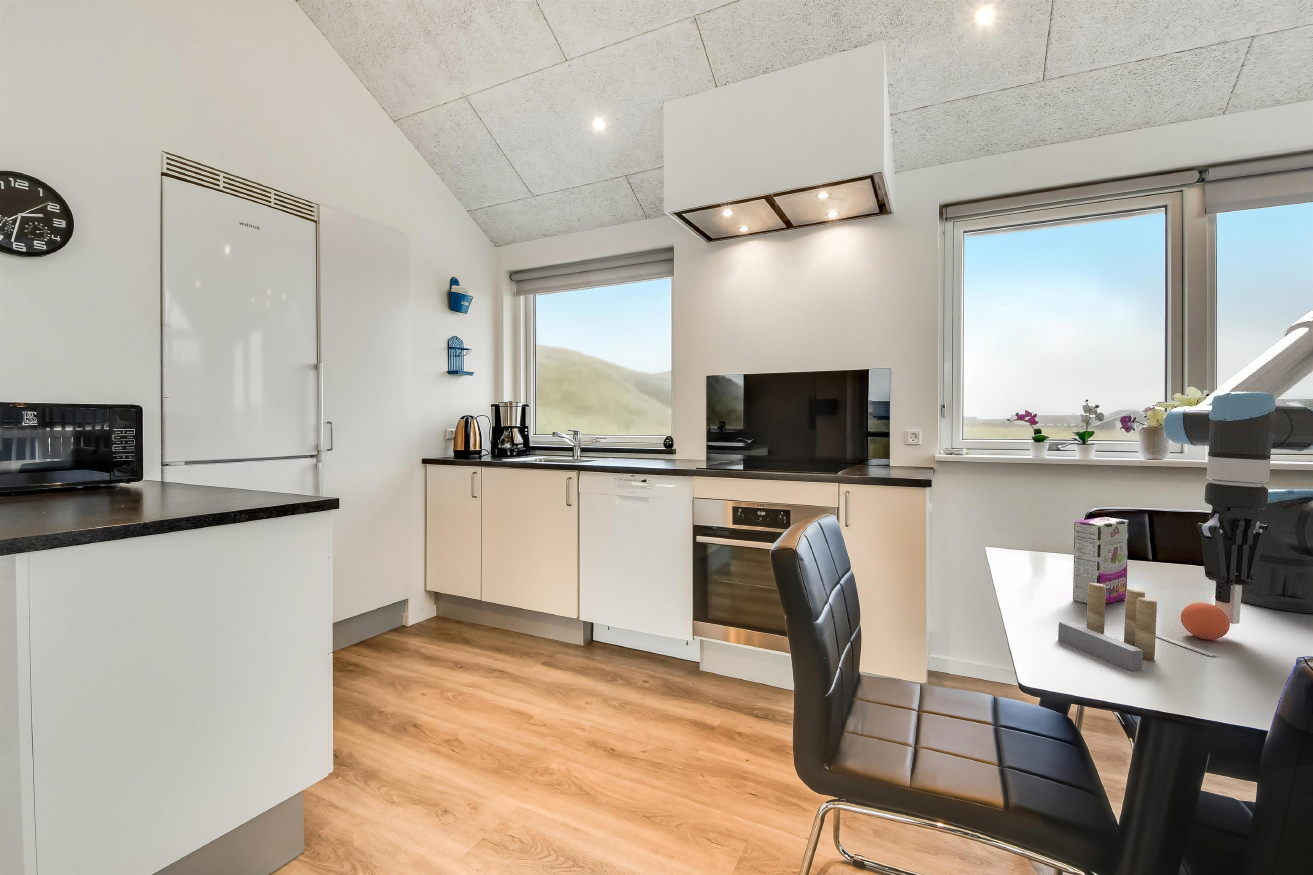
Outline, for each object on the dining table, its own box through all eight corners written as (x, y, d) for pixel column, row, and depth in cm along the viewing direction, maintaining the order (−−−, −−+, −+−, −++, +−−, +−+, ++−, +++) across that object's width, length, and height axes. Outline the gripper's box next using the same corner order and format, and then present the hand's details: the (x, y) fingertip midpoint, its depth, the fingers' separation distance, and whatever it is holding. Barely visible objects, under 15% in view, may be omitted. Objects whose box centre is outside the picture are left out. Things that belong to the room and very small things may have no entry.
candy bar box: (1099, 592, 122) (1102, 516, 121) (1127, 599, 117) (1130, 520, 117) (1070, 600, 117) (1073, 520, 116) (1098, 607, 112) (1101, 524, 112)
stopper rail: (1067, 638, 96) (1068, 621, 96) (1142, 669, 85) (1143, 649, 85) (1058, 639, 96) (1058, 621, 96) (1131, 671, 84) (1132, 650, 84)
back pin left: (1142, 653, 91) (1144, 597, 90) (1158, 659, 88) (1161, 602, 88) (1130, 654, 90) (1132, 598, 90) (1146, 661, 88) (1148, 603, 87)
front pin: (1131, 641, 95) (1133, 588, 95) (1146, 647, 93) (1149, 592, 93) (1120, 643, 95) (1122, 589, 94) (1134, 648, 92) (1137, 593, 92)
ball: (1197, 630, 101) (1198, 596, 100) (1238, 643, 95) (1240, 608, 95) (1170, 632, 99) (1172, 598, 99) (1210, 646, 93) (1212, 610, 93)
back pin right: (1093, 634, 98) (1095, 582, 98) (1107, 639, 96) (1109, 586, 96) (1082, 635, 98) (1084, 583, 98) (1095, 640, 96) (1098, 587, 95)
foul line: (1137, 628, 102) (1137, 626, 102) (1216, 656, 90) (1216, 654, 90) (1131, 628, 101) (1131, 627, 101) (1210, 656, 90) (1210, 655, 90)
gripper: (1238, 481, 102) (1229, 611, 103) (1181, 480, 99) (1172, 614, 100) (1293, 486, 95) (1282, 627, 96) (1233, 486, 92) (1223, 630, 93)
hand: (1226, 620), depth 98 cm, fingers closed
